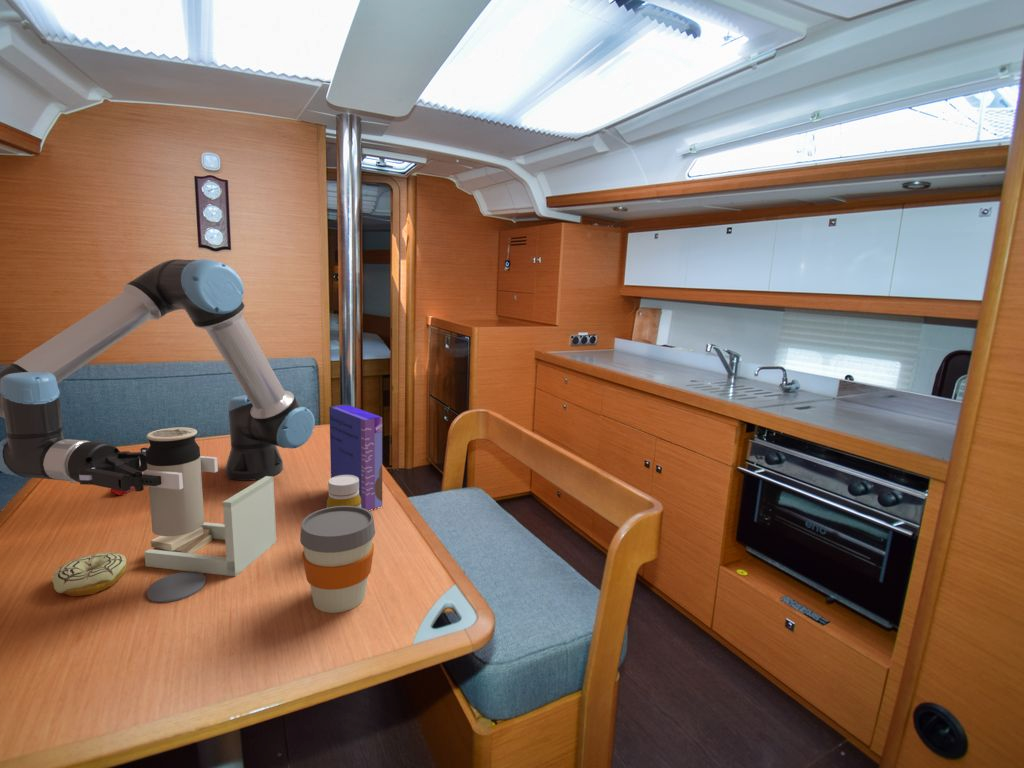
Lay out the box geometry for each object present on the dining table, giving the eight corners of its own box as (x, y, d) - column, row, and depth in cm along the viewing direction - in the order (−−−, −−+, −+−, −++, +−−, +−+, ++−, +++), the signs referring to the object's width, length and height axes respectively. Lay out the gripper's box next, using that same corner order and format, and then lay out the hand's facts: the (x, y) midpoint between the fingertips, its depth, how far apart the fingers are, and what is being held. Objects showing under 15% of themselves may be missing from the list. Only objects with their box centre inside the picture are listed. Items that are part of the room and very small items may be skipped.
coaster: (199, 568, 99) (199, 566, 99) (211, 589, 92) (211, 587, 92) (142, 585, 93) (142, 583, 93) (151, 609, 86) (151, 606, 86)
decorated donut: (48, 607, 86) (45, 586, 85) (59, 576, 95) (57, 557, 94) (125, 589, 92) (122, 570, 91) (129, 561, 101) (127, 543, 100)
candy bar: (122, 498, 129) (120, 487, 128) (107, 497, 129) (106, 486, 128) (162, 475, 145) (161, 465, 144) (149, 475, 145) (148, 465, 144)
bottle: (368, 541, 112) (367, 477, 110) (348, 556, 106) (347, 488, 103) (341, 535, 114) (340, 472, 112) (320, 549, 108) (318, 482, 105)
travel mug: (186, 539, 89) (179, 440, 86) (141, 536, 89) (132, 437, 86) (213, 519, 97) (208, 427, 94) (172, 517, 97) (165, 425, 94)
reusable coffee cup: (355, 624, 85) (354, 541, 82) (287, 613, 87) (283, 532, 84) (386, 583, 97) (386, 509, 94) (326, 574, 99) (324, 501, 96)
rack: (145, 566, 99) (138, 493, 96) (196, 533, 112) (191, 469, 109) (235, 576, 97) (230, 502, 94) (276, 542, 110) (273, 476, 107)
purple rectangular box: (382, 507, 130) (382, 416, 125) (365, 512, 126) (364, 419, 122) (347, 487, 141) (346, 403, 137) (331, 491, 138) (329, 405, 134)
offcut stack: (147, 560, 101) (145, 543, 100) (185, 536, 111) (184, 520, 110) (178, 564, 100) (177, 546, 99) (214, 539, 110) (212, 523, 109)
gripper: (135, 463, 104) (238, 473, 101) (27, 503, 84) (153, 517, 81) (131, 427, 102) (236, 436, 100) (22, 459, 82) (149, 472, 80)
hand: (199, 472), depth 90 cm, fingers closed on travel mug, 8 cm apart
